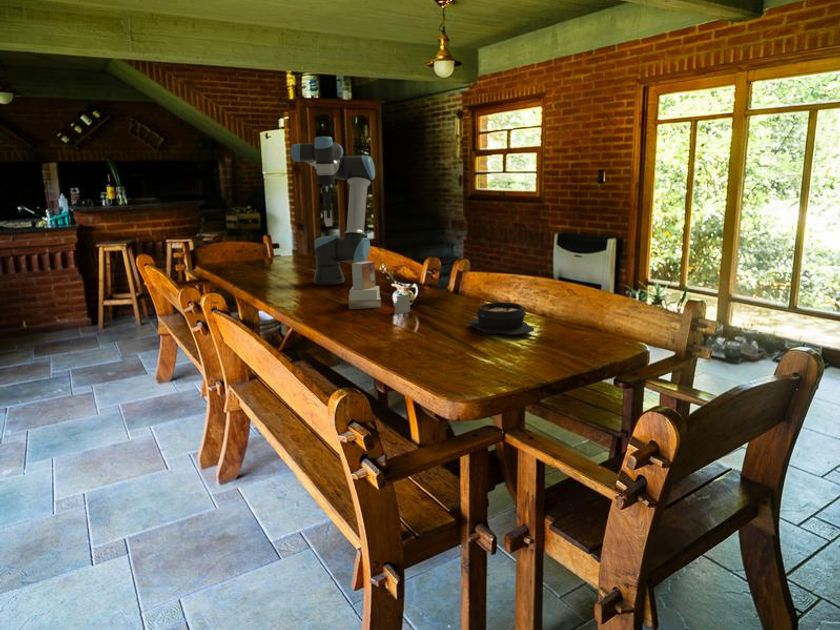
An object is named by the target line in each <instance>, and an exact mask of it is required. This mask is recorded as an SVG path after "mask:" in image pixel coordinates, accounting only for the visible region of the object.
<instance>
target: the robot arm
mask: <svg viewBox="0 0 840 630" xmlns="http://www.w3.org/2000/svg"><path fill="white" fill-rule="evenodd" d="M290 157H291V159H292V160H293V161H294V162H305V163H307V164H308V165H310V166H312V167H314V169H315V170H316V172H315V173H316V174H317V175H316V183H317V184H318V185H322V188H321V194H322V198H323V205H322V206H323V216H324V217H323V219H324V225H325V227H333V214H332V203H331V202H332V201H331V198H332V189H331V186H330V185H334V184H335V182H336V181H335V179H337V180H340V181H346V183H348V184H349V197H348V207H347V208H348V209H347V220H346V221H347V222H346V231H344V232H343V235H342V238H341V237H339V235H337V234H336V235H327V236H321V237H318V238H316V239H315V240H314V241H315V242H314V245H315V246H314V249H315V263H316V270H315V272H314V275H313V276H314V278H313V283H314V285H320V286H333V285H340V284H343V283H345V276H344V274H343V271H342V268H341V263H358V262H364V261H367V259H368V257H369V255H370V250H371V242H370V238H368V236H367V234H366V233H365V224H366V223H365V222H366V210H367V208H366V207H367V194H368V187H369V186H370V185H371V184H372V183H371V181H373V180H374V179H375V177H376V169H375V164H374V161H373V158H372V157H371V156H370V155H363V154H362V155H348V156H347V155H344V149H343V147H342V145H340V144H339V143H337V142H333V138H332V137H331V136H316V137H315V138H314V142H313V143H301V142H300V143H294V144H292V145H291V147H290Z"/></svg>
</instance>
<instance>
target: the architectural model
mask: <svg viewBox="0 0 840 630" xmlns="http://www.w3.org/2000/svg"><path fill="white" fill-rule="evenodd" d="M410 299H411V298H410V294H401V295H397V296H396V301H394V303H393V304H392V305H393V306H394V313H395V314H397V315H399V314H406V313H411V305H412V304H413V303H412V302H410Z"/></svg>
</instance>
